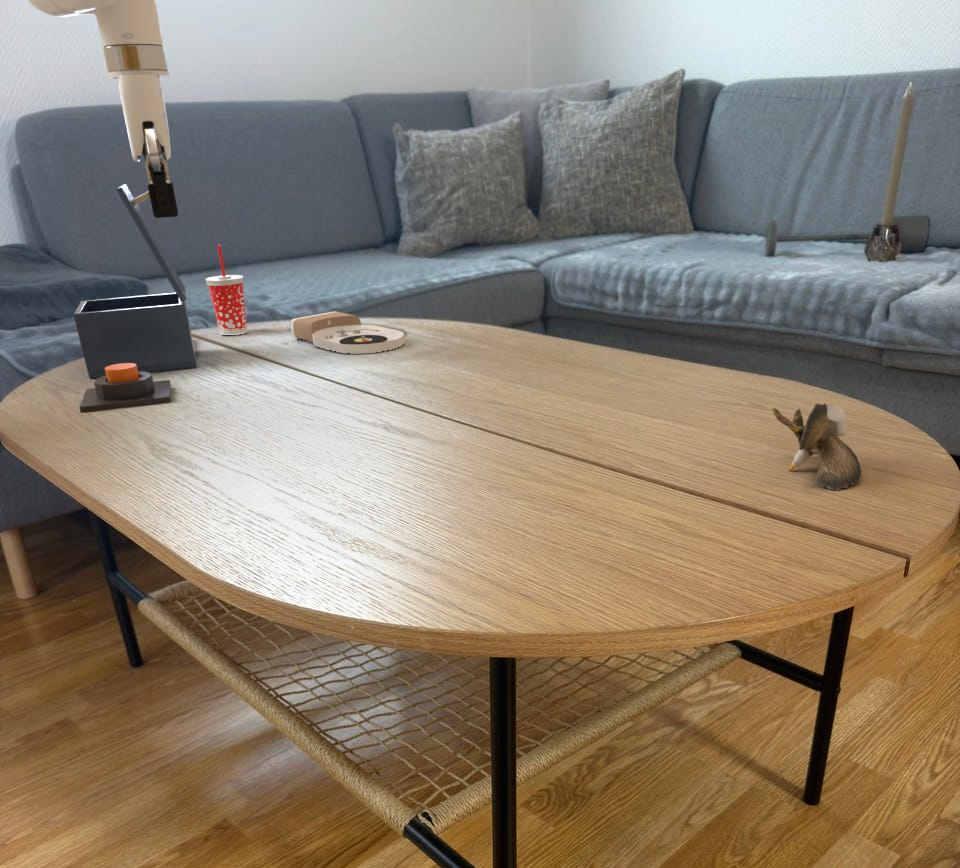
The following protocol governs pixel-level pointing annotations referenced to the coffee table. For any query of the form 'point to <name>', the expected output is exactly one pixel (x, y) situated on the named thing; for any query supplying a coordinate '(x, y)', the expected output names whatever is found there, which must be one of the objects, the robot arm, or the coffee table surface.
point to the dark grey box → (135, 333)
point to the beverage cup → (228, 301)
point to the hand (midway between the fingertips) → (166, 214)
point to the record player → (345, 333)
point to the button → (121, 372)
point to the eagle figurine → (824, 445)
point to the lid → (151, 238)
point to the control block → (125, 393)
